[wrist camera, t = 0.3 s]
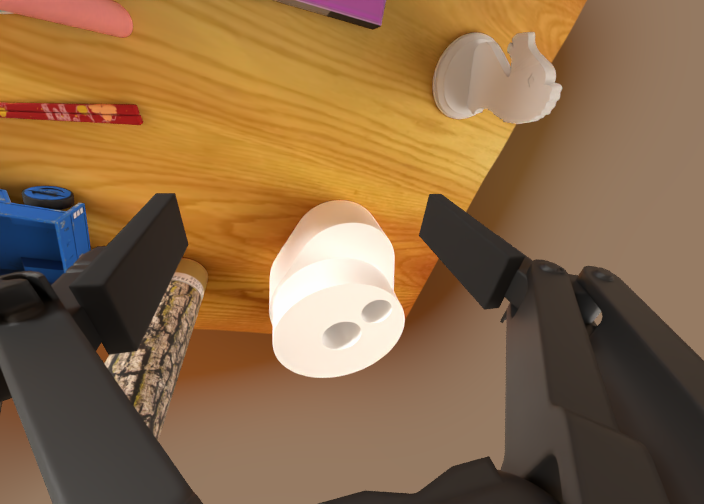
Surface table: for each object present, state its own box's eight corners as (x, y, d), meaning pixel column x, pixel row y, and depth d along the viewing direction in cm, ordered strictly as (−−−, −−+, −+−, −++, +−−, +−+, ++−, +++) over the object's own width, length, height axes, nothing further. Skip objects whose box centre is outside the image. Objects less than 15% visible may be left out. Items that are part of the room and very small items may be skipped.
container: (403, 210, 46) (444, 254, 35) (361, 318, 58) (382, 376, 47) (283, 189, 40) (287, 234, 28) (263, 315, 51) (260, 382, 40)
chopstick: (-158, 95, 25) (-171, 97, 25) (137, 104, 31) (133, 106, 30) (-136, 118, 27) (-148, 121, 26) (144, 123, 32) (141, 125, 31)
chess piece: (505, 29, 35) (628, 7, 23) (490, 113, 41) (583, 131, 29) (435, 36, 34) (526, 16, 22) (429, 122, 39) (499, 145, 27)
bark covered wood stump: (169, 248, 40) (64, 427, 20) (216, 266, 44) (167, 435, 23) (153, 281, 43) (43, 472, 22) (198, 295, 46) (139, 474, 26)
